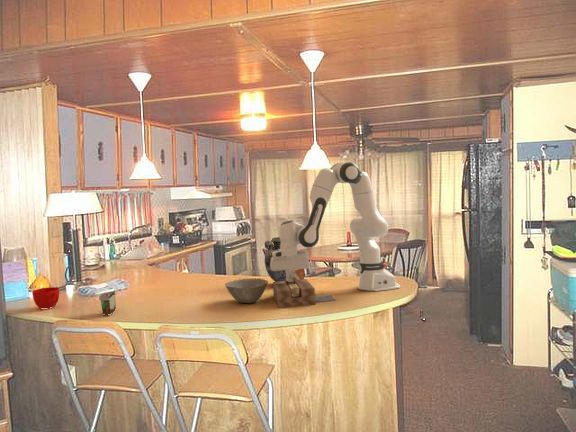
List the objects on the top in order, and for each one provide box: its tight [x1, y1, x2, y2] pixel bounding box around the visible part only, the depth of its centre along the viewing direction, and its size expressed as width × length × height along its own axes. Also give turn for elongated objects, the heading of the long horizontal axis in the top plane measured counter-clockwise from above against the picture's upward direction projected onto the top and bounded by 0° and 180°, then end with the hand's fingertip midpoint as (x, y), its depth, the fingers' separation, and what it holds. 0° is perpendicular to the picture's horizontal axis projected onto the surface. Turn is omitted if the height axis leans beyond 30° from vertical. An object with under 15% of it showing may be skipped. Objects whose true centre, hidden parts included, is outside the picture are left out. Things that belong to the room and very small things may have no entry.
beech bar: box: [288, 284, 299, 296], centre depth 249 cm, size 4×10×4 cm, turn 7°
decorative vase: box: [264, 236, 286, 282], centre depth 293 cm, size 21×19×28 cm
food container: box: [98, 290, 117, 315], centre depth 246 cm, size 12×6×10 cm, turn 5°
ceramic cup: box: [32, 286, 60, 309], centre depth 265 cm, size 13×17×10 cm
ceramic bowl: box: [224, 277, 269, 304], centre depth 255 cm, size 22×23×10 cm
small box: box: [286, 269, 305, 281], centre depth 272 cm, size 8×6×13 cm
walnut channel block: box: [272, 278, 316, 309], centre depth 252 cm, size 18×24×8 cm
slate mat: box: [315, 294, 336, 303], centre depth 252 cm, size 10×10×1 cm
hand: (290, 278), depth 259 cm, fingers closed
